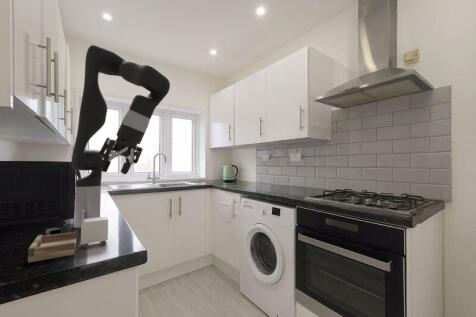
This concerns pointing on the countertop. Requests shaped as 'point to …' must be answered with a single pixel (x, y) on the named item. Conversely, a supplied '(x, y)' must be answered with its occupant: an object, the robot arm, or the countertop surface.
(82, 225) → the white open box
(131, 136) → the robot arm
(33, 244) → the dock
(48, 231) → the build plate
